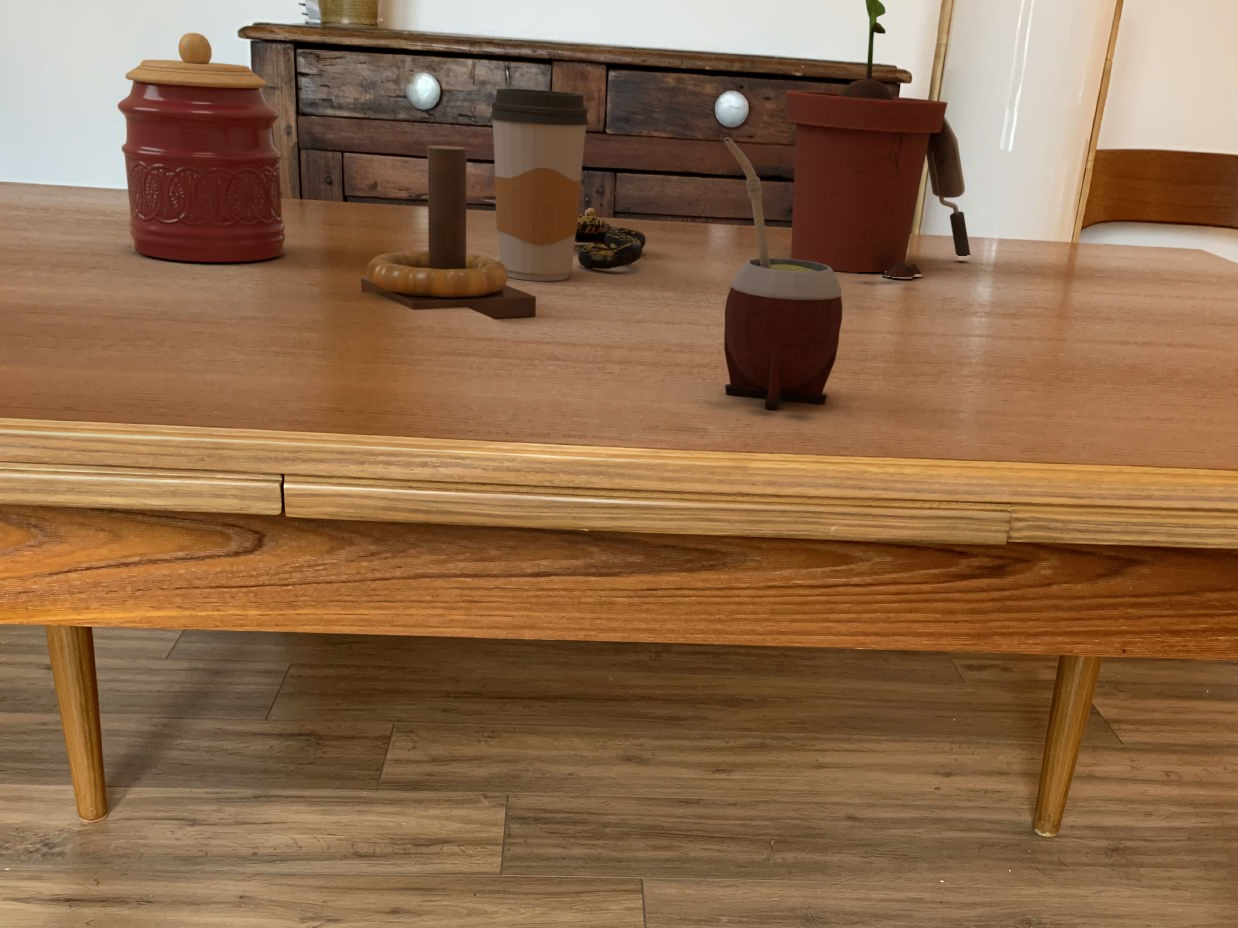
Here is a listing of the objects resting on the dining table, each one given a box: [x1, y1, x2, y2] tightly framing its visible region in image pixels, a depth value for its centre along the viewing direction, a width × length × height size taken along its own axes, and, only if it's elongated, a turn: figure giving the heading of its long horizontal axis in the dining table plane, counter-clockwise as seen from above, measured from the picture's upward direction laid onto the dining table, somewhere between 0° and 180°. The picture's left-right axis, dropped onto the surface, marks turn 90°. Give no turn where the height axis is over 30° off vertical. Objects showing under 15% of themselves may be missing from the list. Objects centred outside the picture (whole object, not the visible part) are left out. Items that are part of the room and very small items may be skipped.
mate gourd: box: [723, 137, 843, 411], centre depth 80 cm, size 8×8×15 cm
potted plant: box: [785, 0, 971, 280], centre depth 133 cm, size 18×22×25 cm
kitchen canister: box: [117, 32, 286, 263], centre depth 115 cm, size 13×13×18 cm
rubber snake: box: [575, 207, 646, 270], centre depth 130 cm, size 18×5×10 cm
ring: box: [365, 250, 509, 298], centre depth 102 cm, size 10×10×2 cm
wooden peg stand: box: [360, 145, 537, 319], centre depth 101 cm, size 10×10×12 cm
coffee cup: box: [490, 88, 589, 282], centre depth 116 cm, size 8×8×15 cm
